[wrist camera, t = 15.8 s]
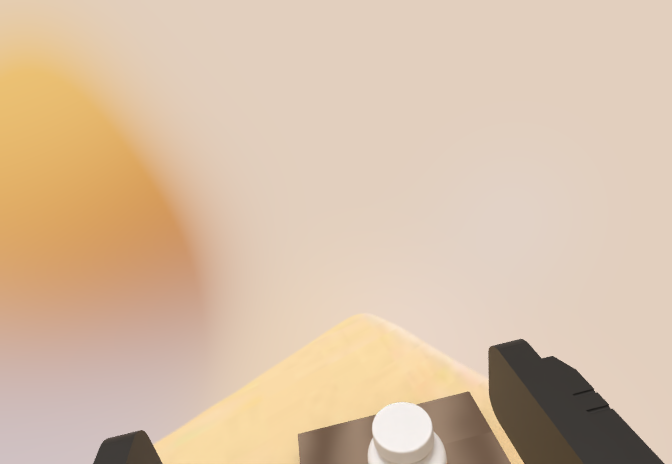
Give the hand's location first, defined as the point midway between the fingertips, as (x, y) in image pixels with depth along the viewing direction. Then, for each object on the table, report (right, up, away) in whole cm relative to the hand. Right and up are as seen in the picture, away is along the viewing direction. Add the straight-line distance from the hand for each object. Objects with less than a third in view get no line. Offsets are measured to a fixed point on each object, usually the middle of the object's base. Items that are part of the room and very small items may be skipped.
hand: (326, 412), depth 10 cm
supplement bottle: (+6, -17, +22) cm, 29 cm away
